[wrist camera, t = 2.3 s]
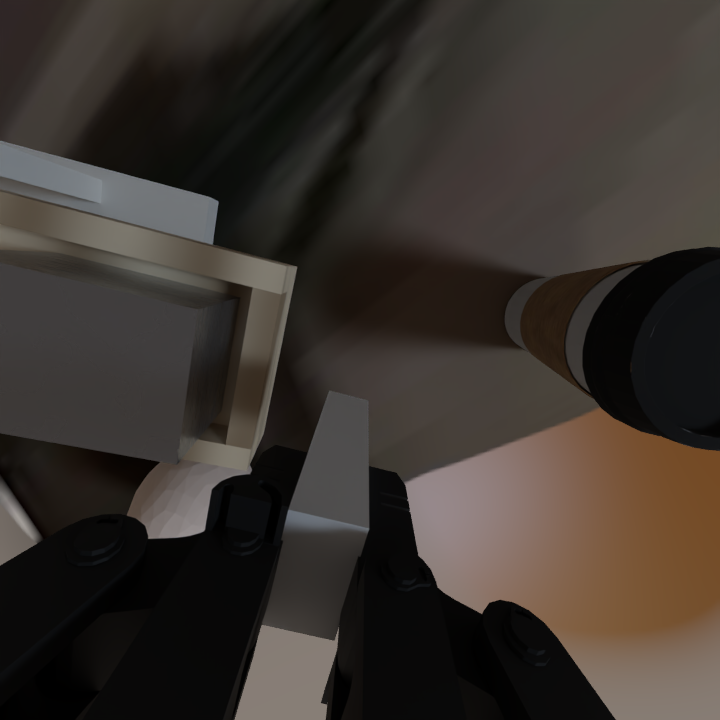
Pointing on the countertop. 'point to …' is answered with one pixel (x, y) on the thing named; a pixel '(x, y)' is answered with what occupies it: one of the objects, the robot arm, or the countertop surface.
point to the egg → (178, 497)
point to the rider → (109, 356)
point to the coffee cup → (634, 340)
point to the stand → (107, 193)
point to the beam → (189, 266)
